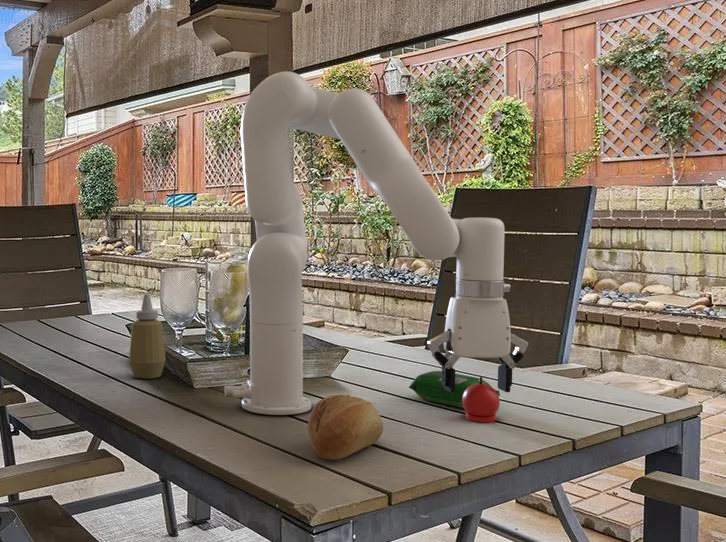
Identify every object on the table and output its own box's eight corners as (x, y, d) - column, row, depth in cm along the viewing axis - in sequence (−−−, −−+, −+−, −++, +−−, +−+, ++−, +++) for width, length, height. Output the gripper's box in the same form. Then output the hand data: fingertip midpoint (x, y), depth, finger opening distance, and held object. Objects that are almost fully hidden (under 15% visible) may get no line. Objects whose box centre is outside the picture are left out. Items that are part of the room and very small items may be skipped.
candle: (471, 423, 125) (471, 380, 125) (456, 414, 131) (456, 373, 131) (506, 422, 125) (506, 380, 125) (489, 413, 131) (489, 373, 131)
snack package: (478, 415, 131) (478, 385, 131) (406, 397, 143) (406, 370, 143) (502, 409, 135) (502, 380, 135) (429, 393, 147) (430, 366, 147)
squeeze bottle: (164, 380, 160) (164, 296, 160) (126, 380, 160) (126, 296, 160) (166, 372, 168) (166, 292, 168) (130, 373, 169) (130, 292, 168)
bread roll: (291, 459, 106) (291, 403, 106) (334, 434, 119) (334, 384, 119) (355, 471, 101) (355, 412, 101) (393, 444, 113) (393, 391, 113)
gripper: (517, 288, 132) (514, 385, 133) (421, 287, 131) (418, 385, 131) (539, 293, 125) (536, 395, 125) (438, 292, 123) (435, 395, 124)
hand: (476, 390), depth 128 cm, fingers open, 9 cm apart
